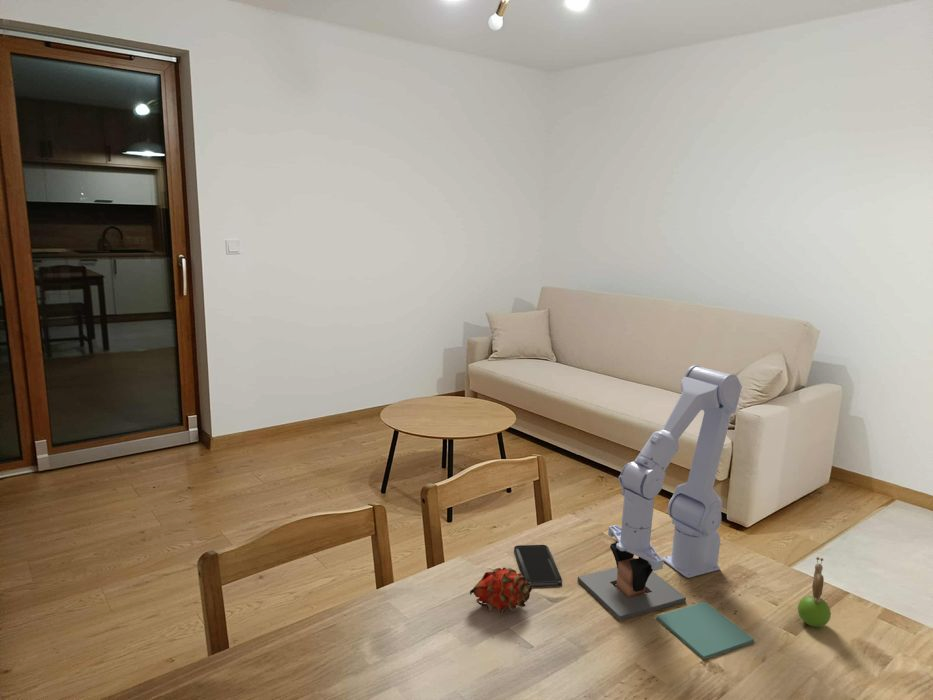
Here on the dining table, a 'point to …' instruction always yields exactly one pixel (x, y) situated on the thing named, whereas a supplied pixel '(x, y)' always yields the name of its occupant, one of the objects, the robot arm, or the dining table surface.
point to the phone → (537, 565)
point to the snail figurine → (815, 602)
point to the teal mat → (705, 630)
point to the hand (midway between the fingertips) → (631, 583)
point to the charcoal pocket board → (626, 607)
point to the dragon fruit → (502, 590)
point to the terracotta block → (626, 579)
